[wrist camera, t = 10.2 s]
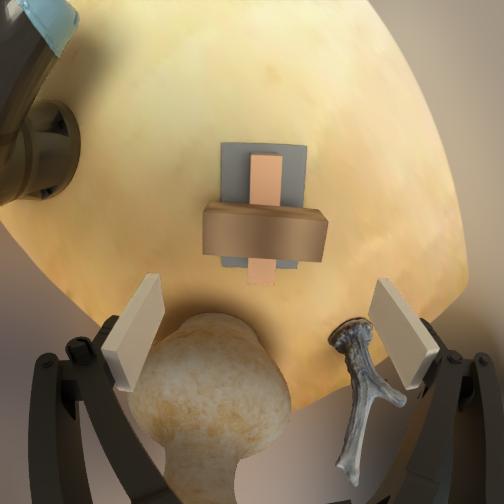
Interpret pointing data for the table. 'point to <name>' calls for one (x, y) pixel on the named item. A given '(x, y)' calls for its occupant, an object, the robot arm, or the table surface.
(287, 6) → the table surface
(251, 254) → the walnut bar
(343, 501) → the robot arm
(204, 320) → the vase
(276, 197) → the ridge block
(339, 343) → the antler
